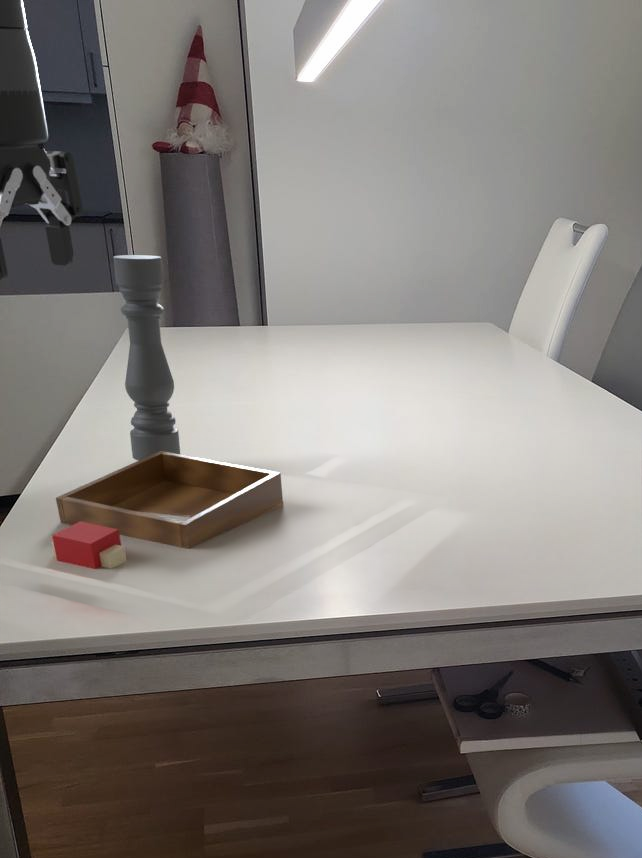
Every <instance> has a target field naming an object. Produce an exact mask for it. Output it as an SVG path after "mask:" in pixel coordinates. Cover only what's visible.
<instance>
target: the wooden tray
mask: <svg viewBox="0 0 642 858" xmlns="http://www.w3.org/2000/svg"><path fill="white" fill-rule="evenodd" d="M55 502H56V506H57V511H58V517H59V522H60V524H64V525H68V526H69V525H70V526H72V525H74V524H76V523H78V522H80V521H82V522H86V523H91V524H95V525H100V526H104V527H109V528H114V529H118V530H119V536H123V537H127V538H128V537H129V538H133V539H138V540H144V541H148V542H152V543H157V544H161V545H167V546H172V547H178V548H182V549H187V550H189V549H192V548H194V547H196V546H199V545H201V544H203V543H205V542H208V541H209V540H211V539H213V538H214V539H215V537H219V536H220V535H222V534H225V533H227V532H229V531H232V530H233V529H235V528H238V527H240V526H242V525H243V524H247V523H248V522H251V521H253V520H255V519H257V518H259V517H262V516H263V515H266V514H268V513H270V512H273V511H275V510H276V509H279V508H281V507H283V506H284V498H283V487H282V474H281V472H277V471H274V470H273V471H272V470H267V469H263V468H262V469H261V468H255V467H251V466H245V465H239V464H236V463H235V464H234V463H229V462H223V461H218V460H212V459H207V458H201V457H197V456H190V455H185V454H181V453H180V454H175V453H169V452H164V451H159V452H157V453H155V454H152V455H150V456H148V457H146V458H143V459H141V460H139V461H138V460H136V461H134V462H132V463H130V464H127V465H125V466H124V467H121V468H118V469H116V470H114V471H112V472H110V473H108V474H105V475H103V476H101V477H99V478H97V479H94V480H92V481H91V482H90V481H89V482H88V483H85V484H83V485H80V486H79V487H76V488H74V489H71V490H69V491H68V492H65V493H63V494H61V495H59V496H58V495H57V497H55ZM157 514H158V515H157ZM160 515H166V516H177V517H185V518H187V519H186V520H184V521H183V520H179V519H176V518H175V519H174V518H171V517H170V518H169V517H165V516H160Z"/></svg>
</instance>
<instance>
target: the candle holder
mask: <svg viewBox="0 0 642 858" xmlns="http://www.w3.org/2000/svg"><path fill="white" fill-rule="evenodd" d="M112 258H113V266H114V277H115V284H116V285H117V286H118V291H119V293H120V295H122V298H123V300H125V303H124V304H123V305H122V306H121V307H120V313H121V314H122V315H124V316H125V319H126V320H127V327H128V337H129V350H128V357H127V365H126V374H125V380H124V381H125V382H124V386H125V391H126V393H127V395H128V397H129V398H130V400H132V401H133V402H134V403H133V407H134V408H135V409H136V411H135V412H134V413H133V416H132V417H131V419H130V425H131V426H132V427H133V428H132V429H130V432H129V436H130V437H129V438H130V445H131V455H132V459H133V460H135V461H139V460H141V459H143V458H146V457H148V456H150V455H152V454H155V453H157V452H159V451H164V452H169V453H175V454H180V455H181V447H180V433H179V429H178V428H177V427H175V426H174V425H176V420H177V419H176V417H175V416H174V415H172V412H171V411H170V410H169V409H168V408H169V406H170V402H169V401H170V400H171V398H173V397H172V396H173V394H174V390H175V381H174V378H173V375H172V372H171V371H172V370H171V369H170V368H171V367H170V365H169V362H168V359H167V356H166V353H165V350H164V347H163V343H162V336H161V325H160V319H161V316H163V315H164V311H165V309H164V307H163V306H162V304H159V303H158V300H159V299H160V294H161V293H162V286H163V285H164V276H163V264H162V257H161V256H159V255H147V254H122V255H121V254H119V255H114V256H113V257H112Z"/></svg>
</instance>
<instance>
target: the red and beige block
mask: <svg viewBox="0 0 642 858" xmlns="http://www.w3.org/2000/svg"><path fill="white" fill-rule="evenodd" d="M51 538H52V541H51V542H50V543H51V549H52V554H53V557H55V558H56V561H57V562H61V563H66V564H70V565H75V566H79V567H84V568H88V569H93V570H97V569H99V568H101V567H102V568H105V569H109V570H110V569H114V568H115V567H117V566H120V565H122V564H125V563H127V562H128V559H127V555H126V554H127V553H126V549H125V546H124V545H122V542H121V535H119V530H118V529H114V528H109V527H104V526H100V525H95V524H91V523H86V522H82V521H80V522H78V523H76V524H74V525H70V526H68V527H65V528H64V529H61V530H60V531H57V532H56V533H53V534H52V535H51Z"/></svg>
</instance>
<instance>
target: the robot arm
mask: <svg viewBox="0 0 642 858" xmlns="http://www.w3.org/2000/svg"><path fill="white" fill-rule="evenodd" d="M24 6H25V5H24V1H23V0H0V227H1V226H2V223H3V220H4V218H6V217H7V216H9V214H10V211H11V208H19V207H22V206H24V205H29V206H30V207H31V208H34V209H35V210H36V211H37V212H38V213H39V215H40V216H41V217H42V219H43V220H44V221H45V223H47V224H48V225H45V232H46V239H47V244H48V250H49V256H50V261H51V262H52V264H53V265H54V266H62V267H63V266H64V267H67V266H71V265H72V264H73V263H74V260H73V259H74V248H73V241H72V235H71V230H70V229H71V228H70V225H71V224H72V221H73V220H74V219H75V218H76V217H82V216H83V214H84V207H83V202H82V197H81V191H80V186H79V182H78V177H77V172H76V167H75V161H74V157H73V154H72V153H71V152H70V151H59V150H57V151H56V150H47V151H46V149H45V146H44V144H45V143H47V141H48V140H49V131H48V124H47V120H46V114H45V107H44V101H43V95H42V90H41V84H40V78H39V72H38V66H37V65H38V64H37V60H36V55H35V52H34V49H33V46H32V42H31V39H30V34H29V31H28V24H27V19H26V11H25V7H24ZM48 177H49V179H48ZM66 193H67V195H66ZM67 199H68V200H67ZM8 272H9V271H8V268H7V262H6V256H5V252H4V247H3V243H2V238H1V237H0V280H1V281H2V280H6V279H8V277H9V273H8Z"/></svg>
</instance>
